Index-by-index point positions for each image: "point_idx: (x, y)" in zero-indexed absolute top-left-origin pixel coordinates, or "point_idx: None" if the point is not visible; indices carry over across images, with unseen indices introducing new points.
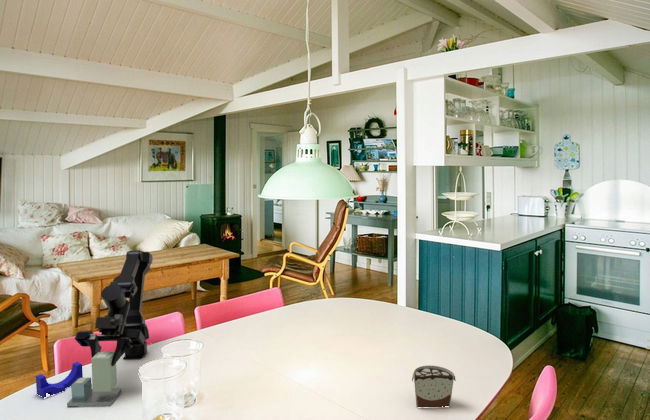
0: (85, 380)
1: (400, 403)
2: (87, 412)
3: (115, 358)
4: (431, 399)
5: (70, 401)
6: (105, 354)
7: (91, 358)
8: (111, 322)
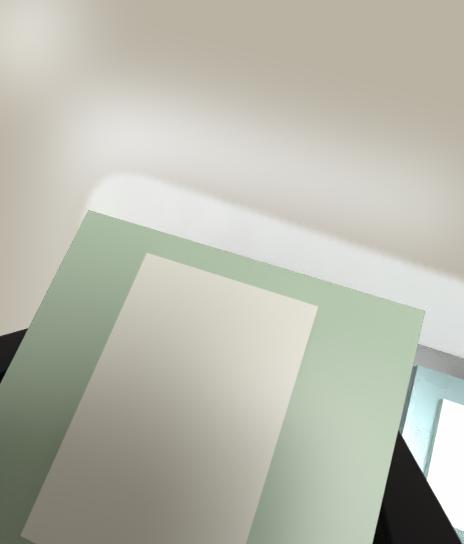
0: (426, 468)
1: None
2: (335, 259)
3: (16, 333)
4: None
5: None
6: (139, 365)
7: (421, 312)
8: None
